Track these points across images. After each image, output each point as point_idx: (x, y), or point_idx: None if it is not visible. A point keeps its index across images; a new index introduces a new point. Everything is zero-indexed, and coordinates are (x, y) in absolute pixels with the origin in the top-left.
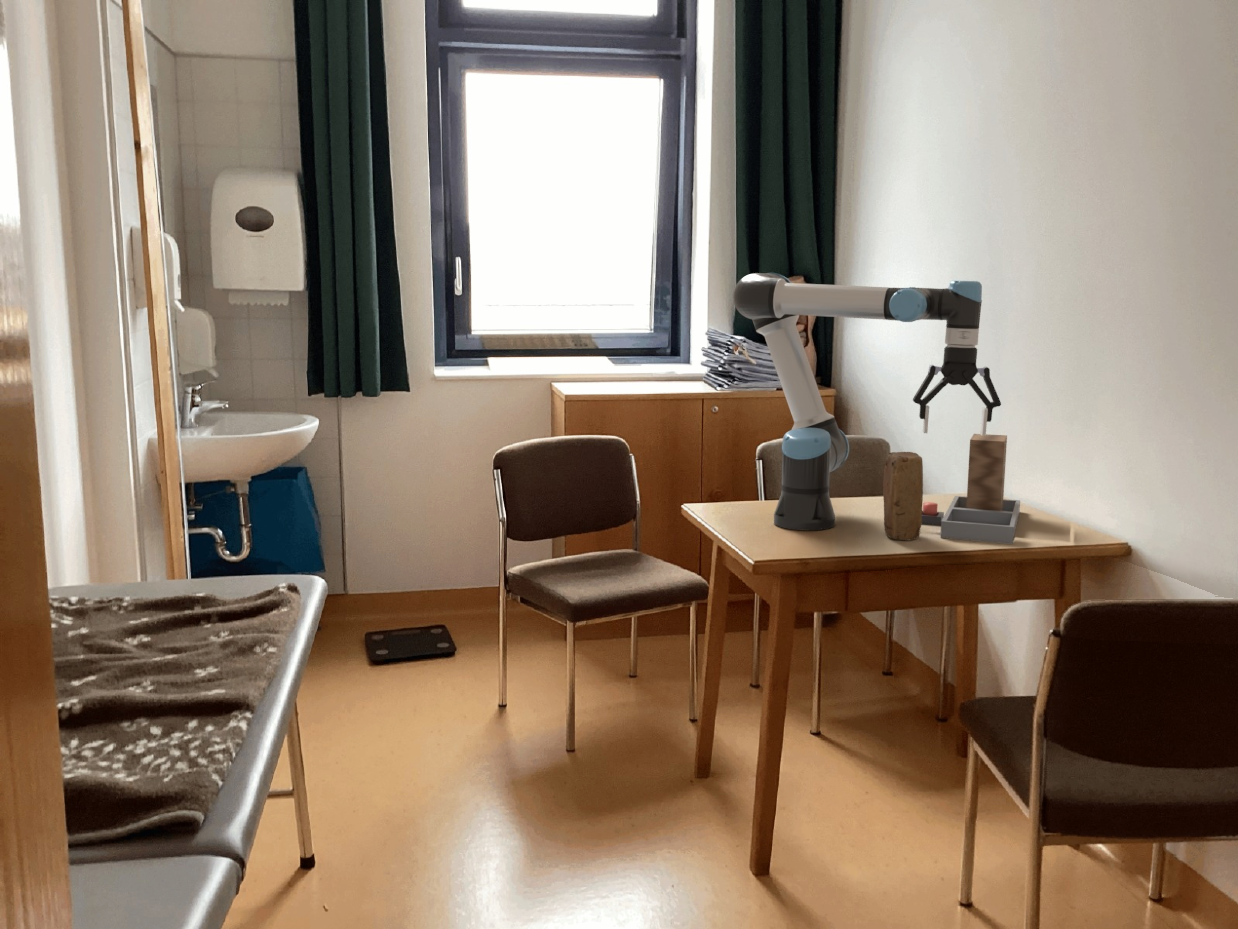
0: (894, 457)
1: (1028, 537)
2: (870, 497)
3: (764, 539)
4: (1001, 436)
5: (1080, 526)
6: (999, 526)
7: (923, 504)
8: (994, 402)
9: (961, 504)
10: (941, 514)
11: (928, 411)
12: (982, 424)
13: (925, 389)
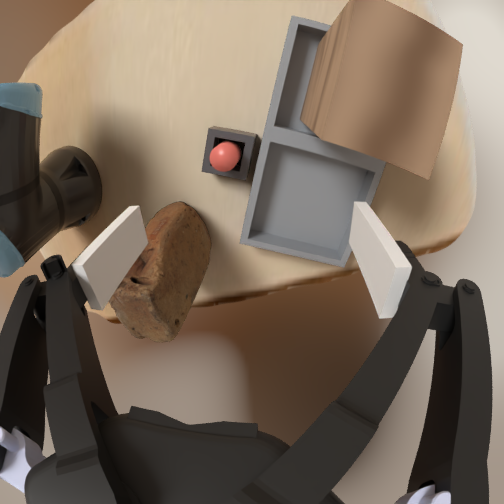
0: (126, 328)
1: (375, 213)
2: None
3: (66, 261)
4: (445, 62)
5: (463, 143)
6: (325, 262)
7: (210, 161)
8: (438, 330)
9: (303, 29)
10: (248, 157)
11: (110, 294)
12: (362, 250)
13: (46, 366)
